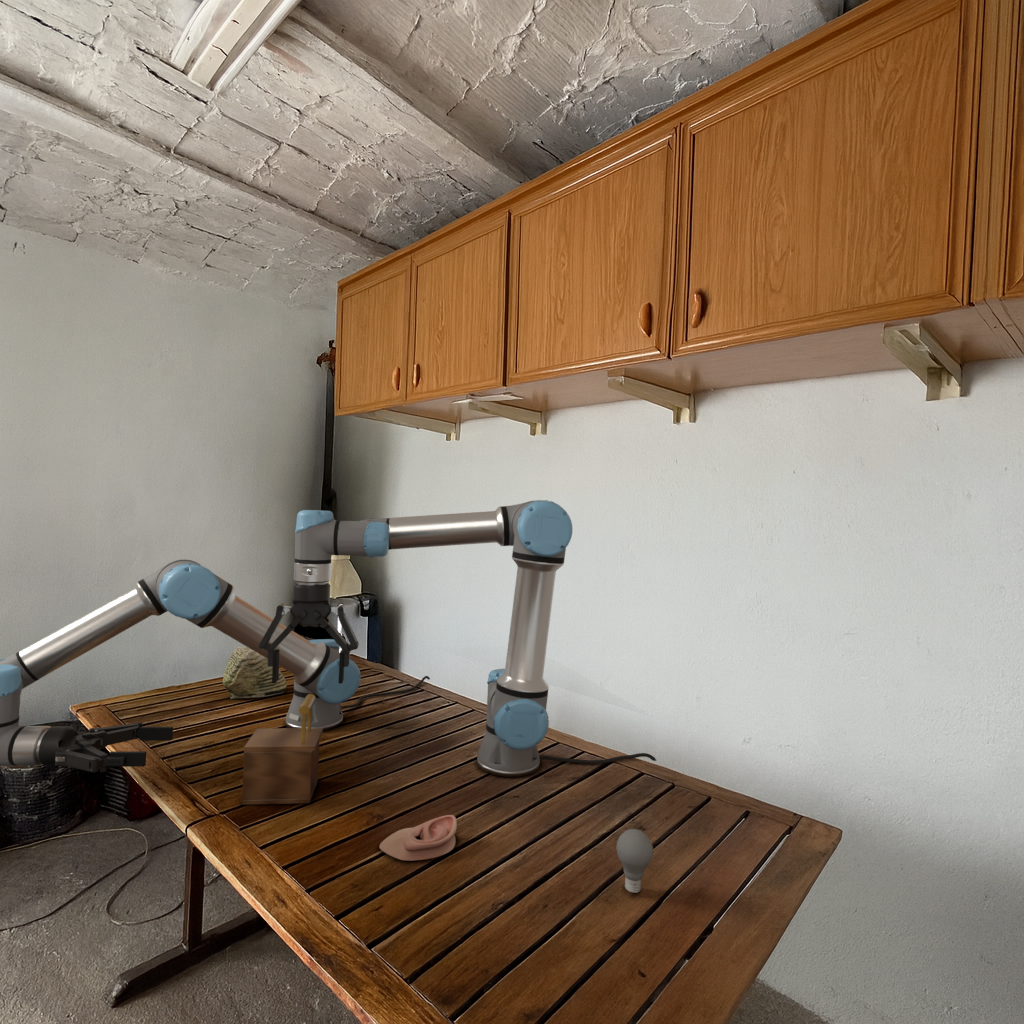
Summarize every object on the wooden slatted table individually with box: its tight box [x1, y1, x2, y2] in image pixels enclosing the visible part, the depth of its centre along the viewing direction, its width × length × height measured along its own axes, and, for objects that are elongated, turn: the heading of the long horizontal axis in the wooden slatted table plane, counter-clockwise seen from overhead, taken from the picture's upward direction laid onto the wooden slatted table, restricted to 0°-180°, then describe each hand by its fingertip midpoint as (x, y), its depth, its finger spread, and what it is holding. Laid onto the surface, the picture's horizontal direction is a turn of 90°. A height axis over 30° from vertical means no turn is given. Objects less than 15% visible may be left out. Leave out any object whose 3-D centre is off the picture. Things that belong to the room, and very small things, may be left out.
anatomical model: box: [379, 814, 458, 862], centre depth 117 cm, size 13×4×12 cm
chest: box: [241, 741, 320, 806], centre depth 135 cm, size 13×10×11 cm
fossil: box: [222, 646, 288, 699], centre depth 198 cm, size 9×18×15 cm, turn 132°
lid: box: [243, 694, 324, 753], centre depth 135 cm, size 14×10×9 cm
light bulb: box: [615, 828, 654, 894], centre depth 106 cm, size 6×6×10 cm
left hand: (159, 745), depth 131 cm, fingers open, 13 cm apart
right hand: (308, 681), depth 135 cm, fingers open, 13 cm apart
